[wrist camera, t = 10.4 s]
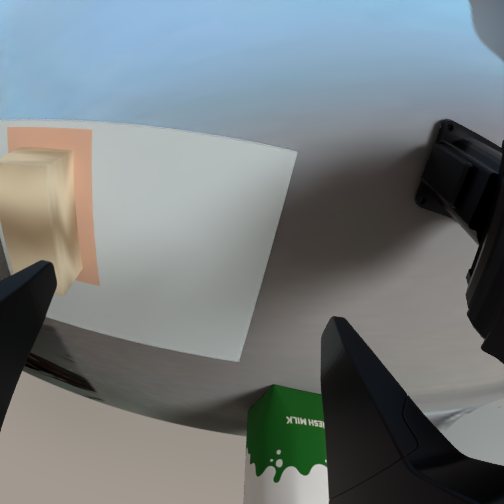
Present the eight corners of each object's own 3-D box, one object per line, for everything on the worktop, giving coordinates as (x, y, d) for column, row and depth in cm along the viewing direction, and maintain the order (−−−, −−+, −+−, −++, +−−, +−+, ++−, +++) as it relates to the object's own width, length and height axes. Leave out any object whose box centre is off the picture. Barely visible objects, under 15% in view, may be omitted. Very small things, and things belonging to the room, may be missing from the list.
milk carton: (338, 392, 33) (356, 557, 16) (298, 424, 38) (303, 562, 21) (269, 377, 31) (268, 567, 14) (237, 412, 36) (227, 563, 19)
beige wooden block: (82, 268, 23) (64, 296, 20) (36, 257, 23) (16, 282, 20) (72, 149, 18) (44, 167, 15) (21, 146, 17) (-9, 163, 15)
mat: (296, 151, 18) (297, 153, 18) (238, 358, 29) (238, 362, 29) (-13, 120, 16) (-17, 121, 16) (23, 306, 27) (21, 309, 27)
